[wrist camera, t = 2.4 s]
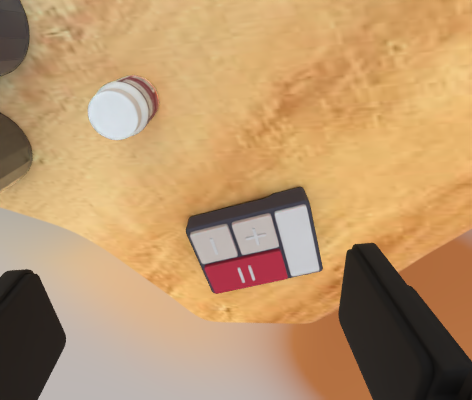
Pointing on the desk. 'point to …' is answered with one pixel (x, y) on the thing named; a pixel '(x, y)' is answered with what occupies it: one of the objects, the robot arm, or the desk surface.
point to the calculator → (256, 241)
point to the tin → (12, 35)
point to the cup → (13, 153)
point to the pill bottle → (123, 107)
